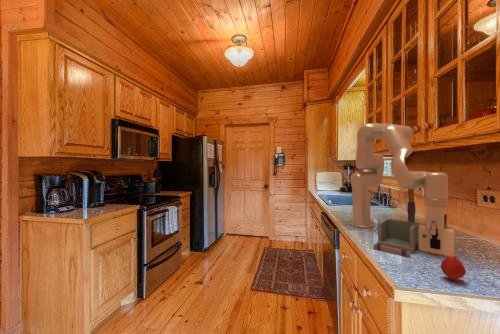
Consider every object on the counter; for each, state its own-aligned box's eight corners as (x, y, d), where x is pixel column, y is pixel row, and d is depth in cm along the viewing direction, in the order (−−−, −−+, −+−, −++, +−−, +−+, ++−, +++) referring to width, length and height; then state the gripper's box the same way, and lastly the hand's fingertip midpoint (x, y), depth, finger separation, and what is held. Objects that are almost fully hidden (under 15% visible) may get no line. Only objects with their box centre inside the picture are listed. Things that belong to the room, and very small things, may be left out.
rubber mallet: (418, 231, 124) (418, 175, 123) (401, 228, 129) (401, 174, 128) (420, 226, 133) (420, 174, 133) (405, 224, 138) (405, 173, 137)
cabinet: (386, 238, 112) (386, 218, 112) (418, 245, 103) (418, 223, 103) (373, 249, 100) (373, 225, 99) (409, 257, 90) (409, 232, 90)
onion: (438, 279, 74) (438, 254, 74) (443, 273, 77) (443, 249, 77) (463, 286, 69) (463, 260, 69) (467, 280, 73) (467, 255, 72)
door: (420, 248, 100) (420, 225, 100) (454, 255, 92) (454, 230, 92) (418, 250, 97) (418, 226, 97) (453, 258, 89) (453, 232, 89)
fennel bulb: (448, 238, 112) (448, 213, 112) (440, 239, 111) (440, 214, 111) (436, 234, 118) (436, 211, 118) (428, 235, 117) (428, 211, 117)
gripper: (427, 199, 103) (427, 240, 103) (420, 204, 91) (420, 250, 92) (450, 201, 98) (450, 244, 98) (445, 206, 86) (445, 255, 86)
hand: (435, 247), depth 95 cm, fingers closed on door, 3 cm apart
